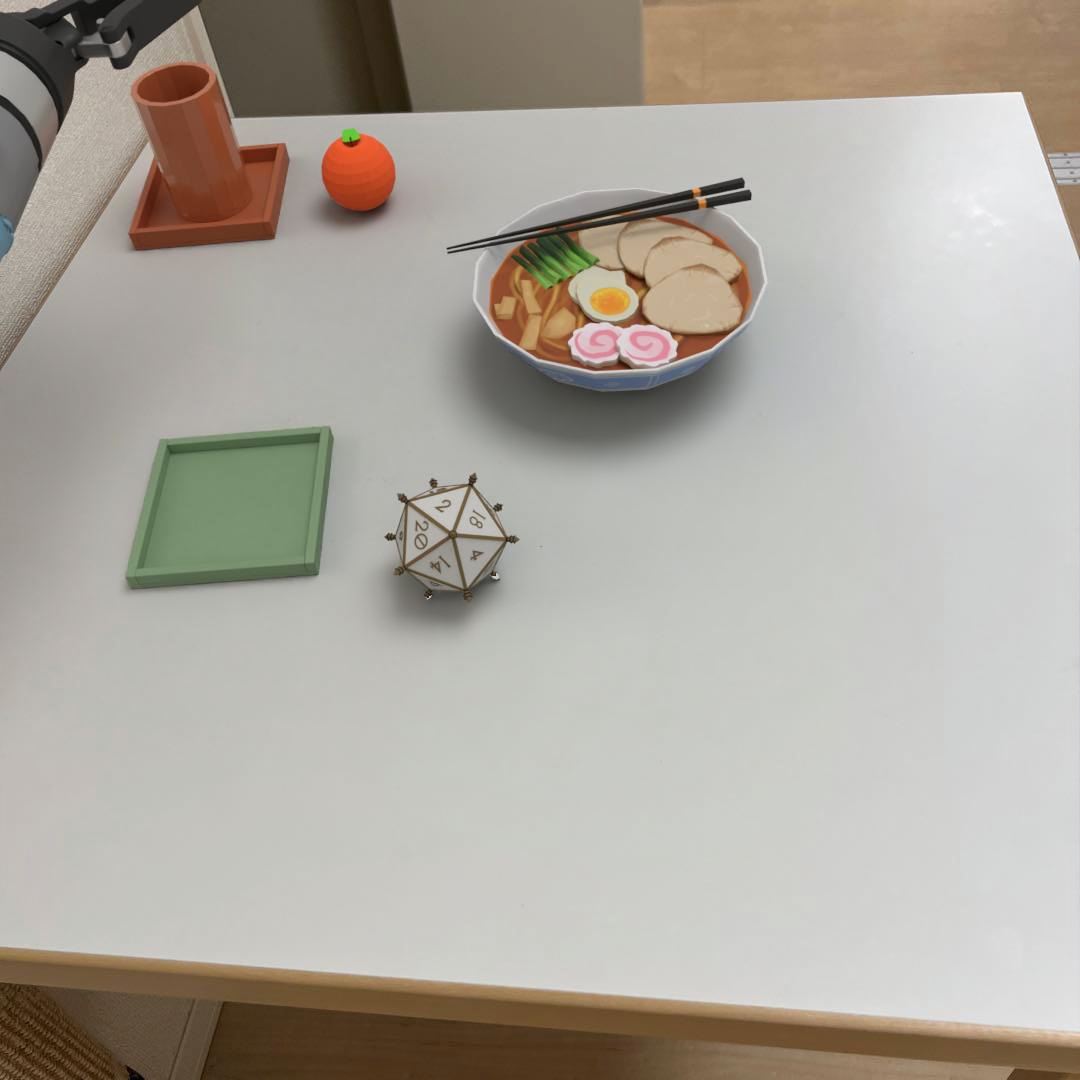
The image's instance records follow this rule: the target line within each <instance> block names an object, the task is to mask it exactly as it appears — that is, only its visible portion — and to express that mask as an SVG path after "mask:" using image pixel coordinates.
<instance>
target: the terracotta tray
mask: <svg viewBox="0 0 1080 1080" xmlns="http://www.w3.org/2000/svg"><path fill="white" fill-rule="evenodd" d="M239 147H240V150H241V153H242V156H243V159H244V162H245V165H246V169H247V172H248V175H249V178H250V181H251V186H252V189H253V197H252V199H251V201H250V203H249V204H248V205H247V206H246V207H245V208H244V209H243V210H242V211H240V212H239V213H237V214H235V215H234V216H231V217H229V218H226V219H223V220H220V221H215V222H206V223H201V222H193V221H189V220H186V219H184V218H183V217H181V216H180V215H179V214H178V212H177V210H176V208H175V206H174V204H173V202H172V199H171V197H170V194H169V192H168V189H167V186H166V184H165V181H164V179H163V176H162V174H161V171H160V169H159V166H158V164H157V161H156V158H155V156H154V155H153V157H152V161H151V164H150V166H149V170H148V173H147V176H146V179H145V182H144V185H143V188H142V191H141V194H140V197H139V200H138V203H137V206H136V209H135V212H134V214H133V219H132V221H131V225H130V226H129V230H128V233H127V234H128V237H129V239H130V241H131V243H132V246H133V248H134V250H135V251H140V250H141V251H143V250H144V251H145V250H152V249H153V250H154V249H166V248H177V247H188V246H190V247H191V246H200V245H213V244H224V243H236V242H249V241H258V240H269V239H276V234H277V227H278V223H279V219H280V218H279V217H280V213H281V207H282V201H283V197H284V191H285V186H286V181H287V176H288V171H289V166H290V160H291V158H290V156H289V152H288V149H287V144H286V143H285V142H279V143H278V142H277V143H266V144H265V143H264V144H253V145H243V146H239Z"/></svg>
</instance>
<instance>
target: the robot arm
mask: <svg viewBox="0 0 1080 1080" xmlns="http://www.w3.org/2000/svg"><path fill="white" fill-rule="evenodd" d="M202 2H203V0H54V1H53V2H51V3H49V4H47V5H45V6H43V7H41V8H40V7H31V8H30V9H28V10H25V11H23V12H22V11H11V12H3V11H0V263H1V262H2V260H3V258H4V257H5V256H6V255H7V254H8V253H9V252H10V251H11V249H12V248H13V243H14V241H15V233H16V230H17V228H18V225H19V223H20V221H21V219H22V216H23V214H24V212H25V210H26V207H27V205H28V202H29V200H30V198H31V195H32V193H33V190H34V188H35V186H36V183H37V181H38V179H39V176H40V173H41V172H42V170H43V168H44V165H45V163H46V161H47V159H48V156H49V155H50V152H51V150H52V147H53V145H54V143H55V141H56V140H57V139H56V138H57V136H58V134H59V133H60V130H61V128H62V127H63V124H64V121H65V119H66V117H67V115H68V113H69V111H70V108H71V106H72V103H73V100H74V94H75V83H76V73H77V72H78V71H79V70H80V69H82V68H84V67H85V66H87V64H88V63H89V61H90V59H98V58H102V59H103V58H108V59H109V62H110V65H111V67H112V69H114V70H116V71H117V70H118V71H120V70H125V69H128V68H129V67H131V65H132V64H133V62H134V61H135V59H136V58H137V56H138V54H139V52H140V51H142V50H143V49H144V48H146V47H147V46H148V45H149V44H150V43H152V42H153V41H154V40H156V39H157V38H158V37H159V36H161V35H162V34H163V33H164V32H166V31H167V30H168V29H170V28H171V27H172V26H173V25H175V24H176V23H177V22H179V20H181V19H183V17H185V16H186V15H187V14H189V13H190V12H191V11H192V10H194V9H195V8H197V7H198V6H199V5H200V4H201V3H202ZM68 15H70V16H71V19H72V22H73V24H72V23H71V22H70V21H69V20H68V19H66V16H68Z"/></svg>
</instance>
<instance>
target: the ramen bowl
mask: <svg viewBox="0 0 1080 1080" xmlns="http://www.w3.org/2000/svg"><path fill="white" fill-rule="evenodd" d="M745 186H746V180H745V179H744V178H743V177H742V176H741V177H738V178H737V177H736V178H733V179H729V180H725V181H721V182H716V183H714V184H709V185H704V186H700V187H697V188H695V189H694V188H691V189H688V190H683V191H678V192H669V191H663V190H658V189H651V188H645V187H639V186H636V187H622V188H621V187H619V188H603V189H587V190H582V191H578V192H575V193H573V194H569V195H566V196H563V197H560V198H559V197H558V198H556V199H553V200H549V201H547V202H544V203H541V204H538V205H535V206H534V207H532V208H530V209H529V210H527V211H526V212H524V213H523V214H521V215H520V216H518V217H517V218H515V219H513V220H512V221H510V222H509V223H507V224H506V225H504V226H502V227H501V228H500V229H497V231H496V232H495V234H494V235H493V236H490V237H485V238H482V239H477V240H472V241H468V242H464V243H461V244H456V245H452V246H447V247H446V250H447V253H446V254H447V255H449V254H450V255H451V254H456V253H460V252H467V251H473V250H478V249H483V248H485V249H484V250H483V251H482V252H481V255H480V256H479V258H478V259H477V260H476V262H475V263H474V275H473V289H472V301H473V303H474V305H475V306H476V308H477V309H478V311H479V313H480V314H481V316H482V317H483V320H484V321H485V323H486V324H487V326H488V327H489V330H490V331H491V332H492V334H493V335H494V336H495V338H496V339H497V340H498V341H499V342H500V343H501V345H502V346H503V347H504V348H505V349H507V350H508V351H509V352H511V353H512V354H513V355H515V356H516V357H517V358H519V359H520V360H522V361H523V362H525V363H527V364H528V365H530V366H531V367H533V368H534V369H536V370H538V371H539V372H541V373H543V374H544V375H546V376H547V377H548V378H550V379H552V380H554V381H556V382H558V383H562V384H566V385H570V386H575V387H579V388H584V389H588V390H593V391H597V392H602V393H603V392H604V393H605V392H606V393H607V392H623V391H624V392H625V391H626V392H627V391H643V390H645V391H646V390H647V391H648V390H650V389H652V388H656V387H658V386H660V385H664V384H666V383H669V382H672V381H675V380H678V379H680V378H683V377H686V376H688V375H690V374H692V373H695V372H696V371H698V370H700V368H701V367H703V366H704V365H705V364H706V363H708V362H709V361H710V360H711V359H713V358H714V357H715V356H716V355H717V354H719V353H721V351H723V350H724V349H725V348H727V347H728V346H729V345H731V343H733V342H734V341H735V340H736V339H737V338H738V337H739V336H741V335H742V334H743V333H744V331H745V330H747V327H748V326H749V325H750V324H751V323H752V321H753V320H754V318H755V315H756V313H757V310H758V308H759V306H760V304H761V301H762V299H763V296H764V293H765V292H766V289H767V286H768V284H769V279H768V274H767V270H766V264H765V259H764V254H763V250H762V246H761V244H759V242H758V241H757V240H756V239H755V238H754V237H753V236H752V235H751V234H750V233H749V232H748V231H747V229H745V228H744V226H743V225H742V224H741V223H739V221H738V220H737V219H736V218H735V217H734V216H733V215H731V214H729V213H727V212H725V211H722V210H720V209H718V208H717V207H721V206H727V205H732V204H737V203H742V202H749V201H752V197H753V196H752V195H753V193H752V192H751V190H750V189H745V188H746V187H745ZM741 189H744V190H741ZM736 190H737V191H736ZM738 190H740V191H738ZM731 191H735V192H731ZM727 192H730V193H727ZM722 193H724V194H722ZM716 194H719V195H716ZM712 195H716V196H712ZM707 196H711V197H707ZM703 197H706V198H703ZM697 198H703V199H697ZM486 242H487V243H486ZM482 243H483V244H482ZM468 246H469V247H468ZM462 247H463V248H462ZM448 250H450V251H448Z"/></svg>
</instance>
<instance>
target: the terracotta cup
mask: <svg viewBox="0 0 1080 1080" xmlns="http://www.w3.org/2000/svg"><path fill="white" fill-rule="evenodd" d="M130 98H131V100H132V102H133V105H134V107H135V110H136V113H137V116H138V117H139V120H140V122H141V125H142V128H143V130H144V133H145V135H146V138H147V141H148V143H149V145H150V148H151V151H152V154H153V157H154V156H155V158H156V161H157V164H158V166H159V169H160V171H161V174H162V176H163V179H164V181H165V184H166V186H167V189H168V192H169V194H170V197H171V199H172V202H173V204H174V206H175V208H176V210H177V212H178V214H179V215H180V216H181V217H183V218H184V219H186V220H189V221H193V222H201V223H206V222H215V221H220V220H223V219H226V218H229V217H231V216H234V215H235V214H237V213H239V212H240V211H242V210H243V209H244V208H245V207H246V206H247V205H248V204H249V203H250V201H251V199H252V197H253V189H252V186H251V181H250V178H249V175H248V172H247V169H246V165H245V162H244V159H243V156H242V153H241V150H240V147H241V146H240V144H239V141H238V137H237V135H236V131H235V129H234V128H235V127H234V125H233V122H232V118H231V116H230V113H229V109H228V107H227V103H226V100H225V97H224V94H223V90H222V88H221V84H220V81H219V78H218V76H217V72H216V71H215V70H214V69H213V68H212V67H211V65H207V64H204V63H202V62H198V61H178V62H172V63H167V64H162V65H160V66H158V67H155V68H152V69H150V70H148V71H146V72H145V73H143V74H142V75H140V76H139V77H137V79H136V80H135V81H134V82H133V83H132V84H131V87H130Z"/></svg>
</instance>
